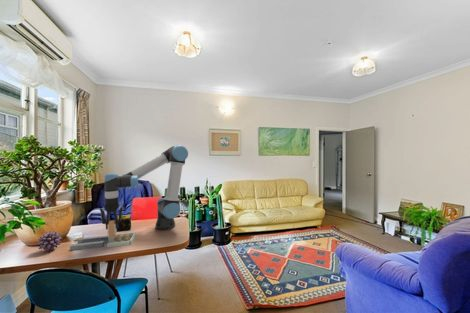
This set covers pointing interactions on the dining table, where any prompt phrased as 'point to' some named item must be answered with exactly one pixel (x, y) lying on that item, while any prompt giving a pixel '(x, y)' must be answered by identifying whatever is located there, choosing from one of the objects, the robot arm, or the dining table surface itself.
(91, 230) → the dining table surface
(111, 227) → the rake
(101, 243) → the slot board
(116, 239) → the chip
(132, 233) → the tray
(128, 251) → the dining table surface
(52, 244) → the flower
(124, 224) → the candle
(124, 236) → the chip
